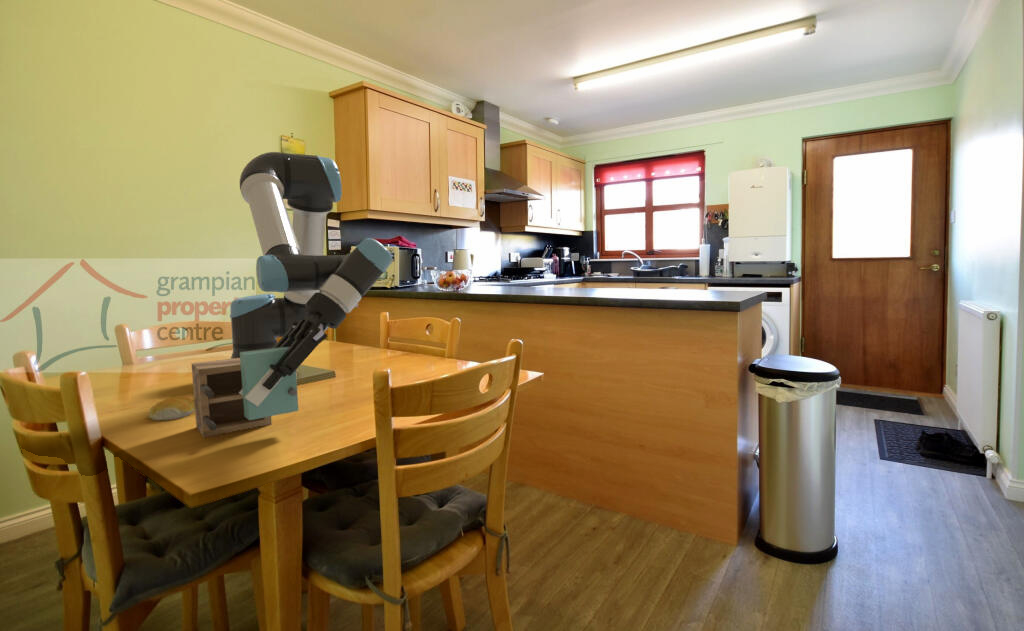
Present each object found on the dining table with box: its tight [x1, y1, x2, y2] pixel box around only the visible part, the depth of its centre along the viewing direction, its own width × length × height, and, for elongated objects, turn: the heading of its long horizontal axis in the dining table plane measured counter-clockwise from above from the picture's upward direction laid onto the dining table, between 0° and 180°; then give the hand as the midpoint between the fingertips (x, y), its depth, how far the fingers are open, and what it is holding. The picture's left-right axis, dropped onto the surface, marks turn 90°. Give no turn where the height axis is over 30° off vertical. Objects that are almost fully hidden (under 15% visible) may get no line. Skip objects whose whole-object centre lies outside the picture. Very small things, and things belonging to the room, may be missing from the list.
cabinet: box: [191, 358, 273, 438], centre depth 101 cm, size 14×12×13 cm
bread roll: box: [148, 395, 195, 421], centre depth 112 cm, size 8×9×4 cm
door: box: [240, 347, 299, 420], centre depth 96 cm, size 4×9×12 cm, turn 130°
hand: (248, 399), depth 94 cm, fingers closed on door, 3 cm apart
